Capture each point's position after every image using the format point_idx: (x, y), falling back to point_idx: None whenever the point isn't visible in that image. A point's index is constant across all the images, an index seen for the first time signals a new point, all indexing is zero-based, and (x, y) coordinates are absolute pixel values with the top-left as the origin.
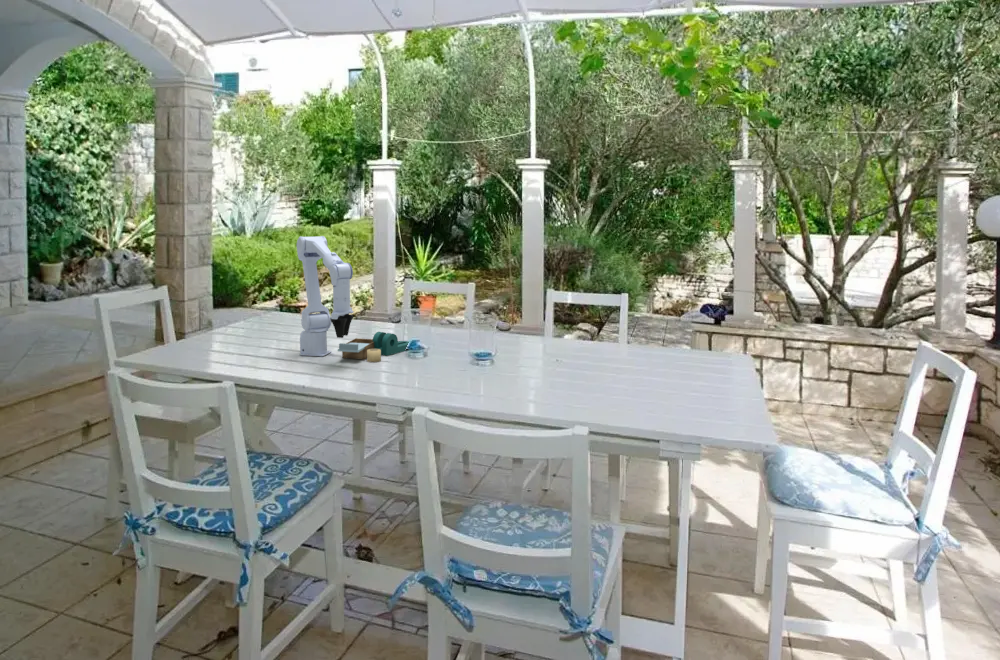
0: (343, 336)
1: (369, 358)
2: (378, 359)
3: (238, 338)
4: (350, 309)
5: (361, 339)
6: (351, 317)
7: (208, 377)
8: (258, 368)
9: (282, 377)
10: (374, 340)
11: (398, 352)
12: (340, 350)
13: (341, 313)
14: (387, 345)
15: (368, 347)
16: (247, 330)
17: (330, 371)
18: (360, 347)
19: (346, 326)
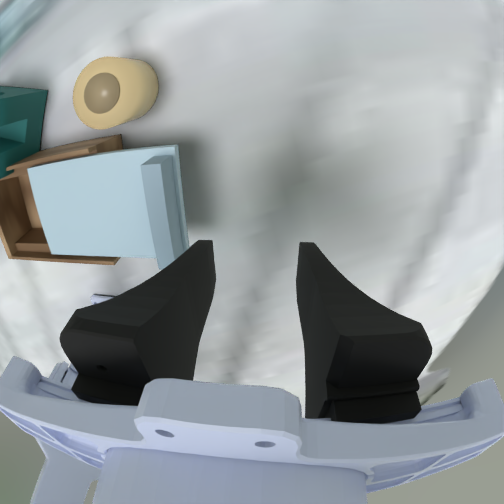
0: (301, 244)
1: (150, 97)
2: (137, 60)
3: None
4: (69, 433)
5: (4, 234)
6: (143, 324)
7: None
8: None
9: (446, 306)
10: (2, 168)
11: (3, 86)
12: (186, 243)
13: (451, 439)
14: (14, 95)
15: (63, 151)
16: None
17: (381, 198)
18: (103, 169)
19: (189, 293)
